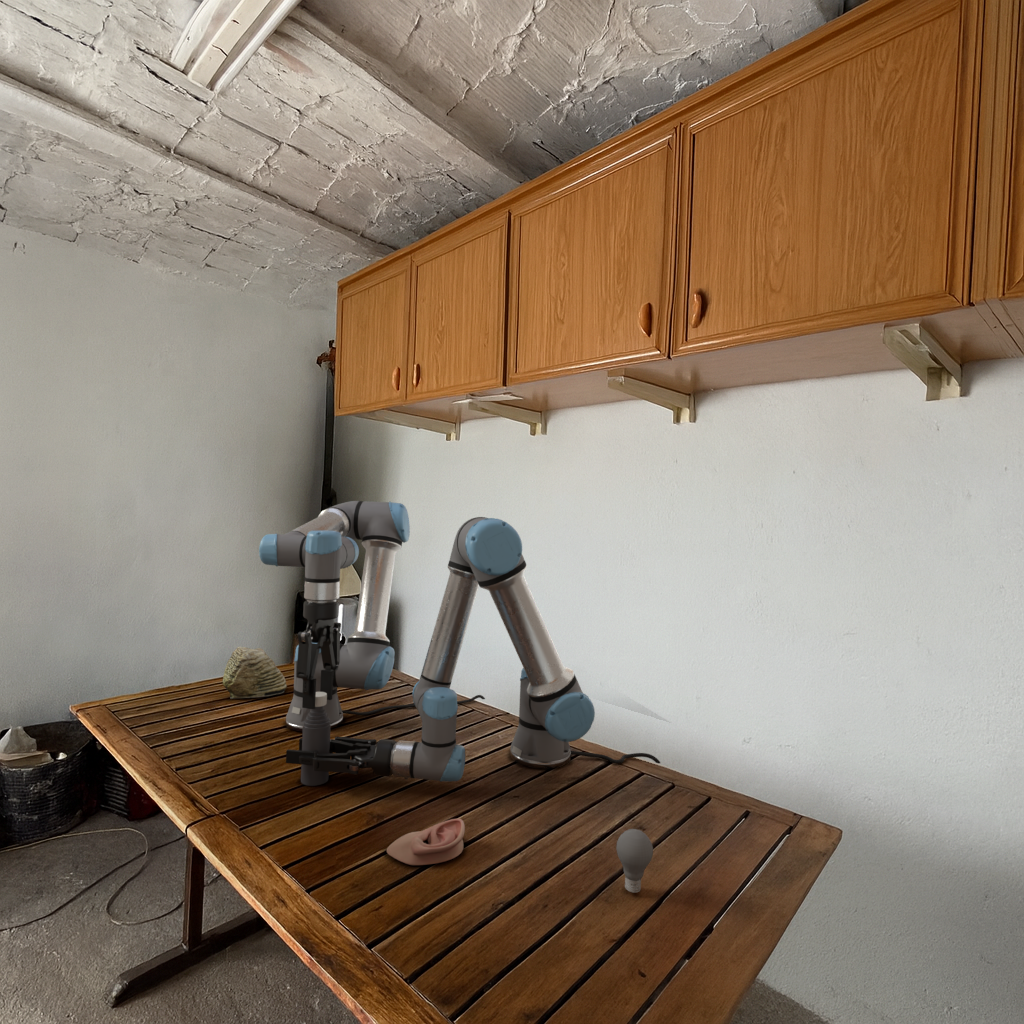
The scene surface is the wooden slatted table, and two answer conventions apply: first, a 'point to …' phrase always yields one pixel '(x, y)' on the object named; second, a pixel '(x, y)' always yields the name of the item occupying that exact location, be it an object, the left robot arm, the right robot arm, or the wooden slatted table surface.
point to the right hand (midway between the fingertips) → (293, 750)
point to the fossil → (252, 674)
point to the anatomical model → (430, 844)
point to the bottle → (315, 744)
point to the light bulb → (634, 857)
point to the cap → (320, 699)
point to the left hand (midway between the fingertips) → (317, 703)
